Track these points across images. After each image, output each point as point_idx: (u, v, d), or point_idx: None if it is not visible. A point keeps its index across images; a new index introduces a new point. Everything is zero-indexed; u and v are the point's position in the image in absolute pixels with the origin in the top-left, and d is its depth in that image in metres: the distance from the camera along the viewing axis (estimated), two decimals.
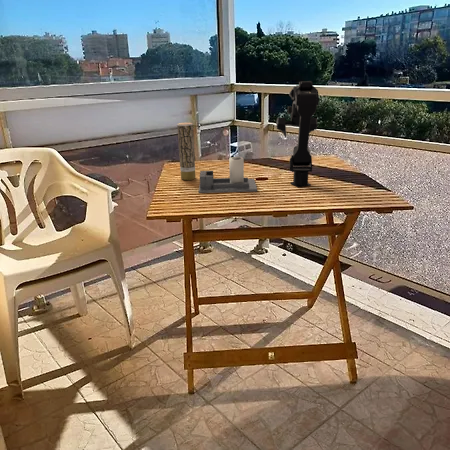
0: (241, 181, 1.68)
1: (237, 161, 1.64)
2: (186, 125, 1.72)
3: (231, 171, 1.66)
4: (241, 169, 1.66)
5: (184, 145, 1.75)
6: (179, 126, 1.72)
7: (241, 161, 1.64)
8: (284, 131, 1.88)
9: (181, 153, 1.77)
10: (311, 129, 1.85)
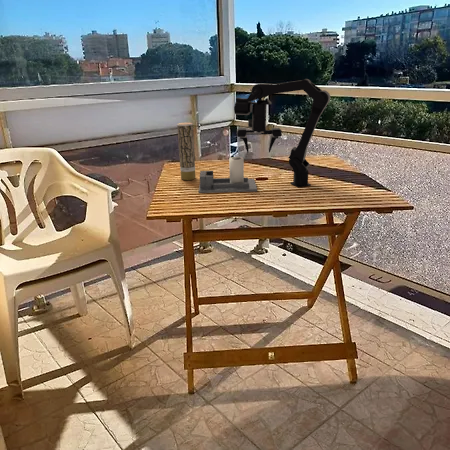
0: (241, 181, 1.68)
1: (237, 161, 1.64)
2: (186, 125, 1.72)
3: (231, 171, 1.66)
4: (241, 169, 1.66)
5: (184, 145, 1.75)
6: (179, 126, 1.72)
7: (241, 161, 1.64)
8: (245, 140, 1.67)
9: (181, 153, 1.77)
10: (275, 136, 1.66)
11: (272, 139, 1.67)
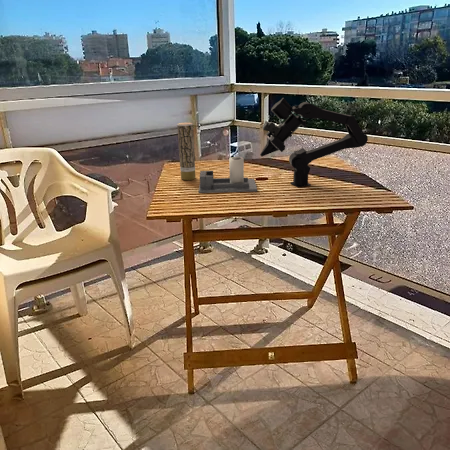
0: (241, 181, 1.68)
1: (237, 161, 1.64)
2: (186, 125, 1.72)
3: (231, 171, 1.66)
4: (241, 169, 1.66)
5: (184, 145, 1.75)
6: (179, 126, 1.72)
7: (241, 161, 1.64)
8: None
9: (181, 153, 1.77)
10: None
11: None
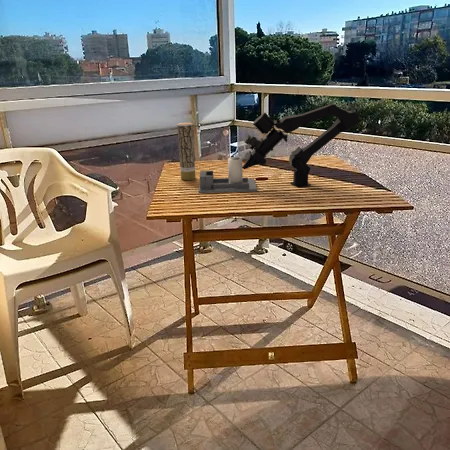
0: (240, 181, 1.68)
1: (236, 161, 1.64)
2: (186, 125, 1.72)
3: (230, 171, 1.66)
4: (240, 169, 1.66)
5: (184, 145, 1.75)
6: (179, 126, 1.72)
7: (240, 161, 1.64)
8: None
9: (181, 153, 1.77)
10: None
11: None
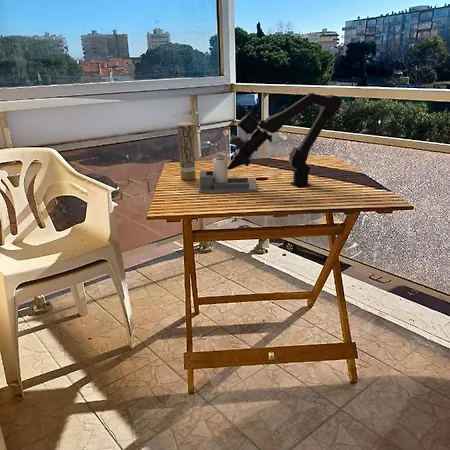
0: (225, 181, 1.68)
1: (220, 161, 1.64)
2: (186, 125, 1.72)
3: (215, 171, 1.66)
4: (225, 169, 1.66)
5: (184, 145, 1.75)
6: (179, 126, 1.72)
7: (225, 161, 1.64)
8: None
9: (181, 153, 1.77)
10: None
11: None
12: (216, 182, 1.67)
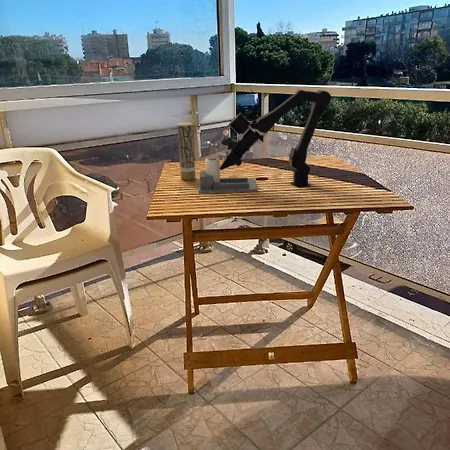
0: (217, 182, 1.68)
1: (212, 162, 1.64)
2: (186, 125, 1.72)
3: (207, 172, 1.66)
4: (217, 170, 1.66)
5: (184, 145, 1.75)
6: (179, 126, 1.72)
7: (217, 162, 1.64)
8: None
9: (181, 153, 1.77)
10: None
11: None
12: None
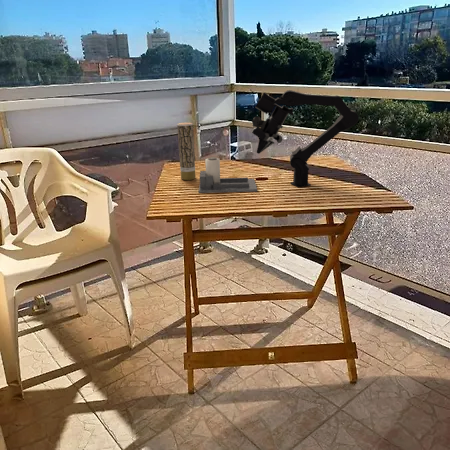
0: (217, 182, 1.68)
1: (213, 162, 1.64)
2: (186, 125, 1.72)
3: (207, 172, 1.66)
4: (217, 170, 1.66)
5: (184, 145, 1.75)
6: (179, 126, 1.72)
7: (217, 162, 1.64)
8: (268, 144, 1.64)
9: (181, 153, 1.77)
10: (278, 142, 1.70)
11: (271, 144, 1.65)
12: None
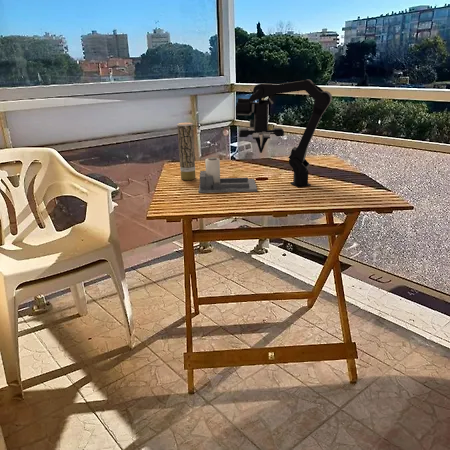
0: (217, 182, 1.68)
1: (213, 162, 1.64)
2: (186, 125, 1.72)
3: (207, 172, 1.66)
4: (217, 170, 1.66)
5: (184, 145, 1.75)
6: (179, 126, 1.72)
7: (217, 162, 1.64)
8: (258, 140, 1.67)
9: (181, 153, 1.77)
10: (277, 135, 1.66)
11: (264, 139, 1.67)
12: None
